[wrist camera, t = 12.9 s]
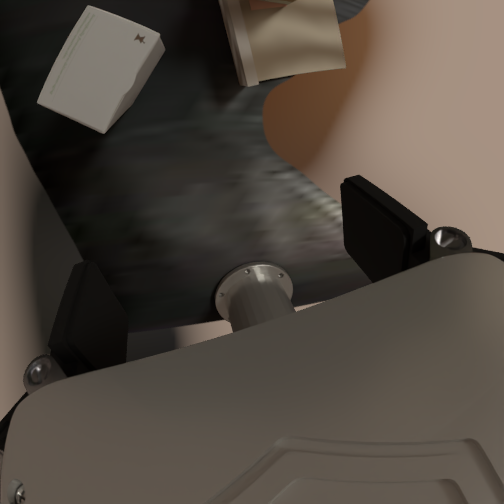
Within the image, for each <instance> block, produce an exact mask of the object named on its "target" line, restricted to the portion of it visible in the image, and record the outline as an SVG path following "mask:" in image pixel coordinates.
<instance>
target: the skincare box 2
mask: <svg viewBox="0 0 504 504" xmlns="http://www.w3.org/2000/svg"><path fill="white" fill-rule="evenodd" d="M260 1H267V2H274V3H280V4H287V5H288V4H290V3H292V2H294V1H296V0H260Z"/></svg>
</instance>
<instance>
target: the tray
mask: <svg viewBox="0 0 504 504" xmlns="http://www.w3.org/2000/svg"><path fill="white" fill-rule="evenodd" d="M218 1H219V5H220V9H221V13H222V17H223V21H224V24H225V28H226V32H227V36H228V40H229V44H230V48H231V52H232V56H233V60H234V65H235V69H236V73H237V77H238V81H239V85H241V86H247V87H249V86H253V85H258V84H259V82H258V81H263V80H268V79H273V78H278V77H284V76H290V75H296V74H302V73H309V72H316V71H324V70H332V69H341V68H346V64H345V58H344V52H343V47H342V41H341V36H340V31H339V26H338V21H337V17H336V12H335V8H334V3H333V0H296V1H294V2H292V3H290V4H288V5H287V4H280V3H274V2H267V1H260V0H218Z"/></svg>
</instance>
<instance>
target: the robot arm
mask: <svg viewBox="0 0 504 504" xmlns="http://www.w3.org/2000/svg"><path fill="white" fill-rule="evenodd" d="M340 190H341V203H342V217H343V234H344V246H345V249H346V251H347V253H348V254H349V255H350V256H351V257H352V258H353V260H354V261H355V262H356V263H357V264H358V266H359V267H360V268H361V269H362V270H363V271H364V273H365V274H366V275H367V276H368V277H369V279H370V280H371V281H372V282H373V284H370V285H367V286H365V287H362V288H360V289H357V290H355V291H352V292H349V293H347V294H344V295H341V296H339V297H336V298H333V299H330V300H328V301H325V302H322V303H320V304H317V305H314V306H311V307H309V308H306V309H303V310H300V311H297V312H296V311H295V309H294V307H293V305H292V303H291V301H290V299H291V297H292V293H293V285H292V282H291V279H290V277H289V275H288V274H287V273H286V271H285V270H284V269H282V268H281V267H280V266H278V265H275V264H273V263H269V262H252V263H248V264H244V265H242V266H239V267H237V268H235V269H234V270H232V271H231V272H229V273H228V274H227V275H226V276H225V277H224V278H223V279H222V280H221V282H220V283H219V285H218V287H217V289H216V293H215V304H216V308H217V310H218V313H219V314H220V315H221V316H222V317H223V318H224V319H225V320H226V321H228V322H230V323H231V326H232V330H233V333H231V334H227V335H224V336H221V337H217V338H214V339H211V340H207V341H204V342H201V343H197V344H194V345H190V346H187V347H183V348H180V349H177V350H173V351H169V352H165V353H162V354H158V355H154V356H151V357H147V358H143V359H140V360H136V361H132V362H128V363H126V353H127V352H126V351H127V336H128V317H127V314H126V312H125V311H124V309H123V308H122V306H121V305H120V303H119V301H118V300H117V298H116V297H115V295H114V293H113V292H112V290H111V288H110V287H109V285H108V283H107V282H106V280H105V278H104V277H103V275H102V273H101V272H100V270H99V268H98V266H97V265H96V263H95V262H92V263H91V262H90V261H89V260H86V261H83V262H81V263H78V264H75V265H74V267H73V269H72V272H71V275H70V278H69V280H68V283H67V286H66V289H65V291H64V294H63V297H62V300H61V303H60V306H59V309H58V312H57V315H56V319H55V322H54V325H53V329H52V332H51V335H50V339H49V343H48V346H49V348H50V349H51V354H50V355H49V354H42V355H40V356H38V357H36V358H35V359H33V360H32V361H31V363H30V364H29V365H28V367H27V369H26V370H25V373H24V378H23V382H24V386H25V388H26V390H27V392H26V393H25V394H24V395H23V396H22V397H21V398H20V400H19V401H18V402H17V403H16V404H15V405H14V406H13V407H12V409H11V410H10V411H9V412H8V414H7V415H6V416H5V417H4V418H3V419H2V420H1V421H0V504H504V254H503V253H499V252H493V251H488V250H483V249H478V248H473V247H472V243H471V240H470V237H469V236H468V235H467V234H466V233H465V232H463V231H461V230H459V229H457V228H454V227H438V228H436V229H435V230H433V231H432V232H430V231H429V230H428V229H427V226H428V224H427V223H426V222H425V221H423V220H422V219H421V218H419V217H418V216H417V215H415V214H414V213H413V212H411V211H410V210H409V209H407V208H406V207H405V206H403V205H402V204H400V203H399V202H398V201H396V200H395V199H394V198H392V197H391V196H389V195H388V194H387V193H385V192H384V191H382V190H381V189H379V188H378V187H377V186H375V185H374V184H372V183H371V182H369V181H368V180H366V179H365V178H363V177H362V176H360V175H356V176H352V177H349V178H345V179H344V183H342V184H341V185H340Z"/></svg>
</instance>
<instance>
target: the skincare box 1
mask: <svg viewBox="0 0 504 504" xmlns="http://www.w3.org/2000/svg"><path fill="white" fill-rule="evenodd" d="M164 51H165V47H164V45H163V43H162V41H161V39H160V34H159V33H157V32H155V31H153V30H151V29H148V28H146V27H144V26H142V25H139V24H137V23H135V22H132V21H130V20H127V19H125V18H122V17H120V16H117V15H115V14H112V13H109V12H107V11H104V10H101V9H98V8H95V7H92V6H87V7H86V9H85V11H84V12H83V14H82V15H81V17H80V19H79V20H78V22H77V23H76V25H75V27H74V28H73V30H72V32H71V33H70V35H69V37H68V39H67V40H66V42H65V44H64V46H63V48H62V50H61V51H60V53H59V55H58V57H57V59H56V61H55V63H54V65H53V67H52V69H51V71H50V73H49V75H48V78H47V80H46V82H45V84H44V87H43V89H42V91H41V94H40V96H39V99H38V101H37V103H38V104H40V105H42V106H44V107H46V108H49V109H51V110H53V111H55V112H57V113H59V114H61V115H64V116H66V117H68V118H70V119H72V120H75V121H77V122H79V123H81V124H83V125H85V126H88V127H90V128H92V129H94V130H96V131H98V132H100V133H103V134H104V133H106V131H107V130H108V129H109V128H110V127H111V126H112V125H113V124H114V123H115V122H116V121H117V120H118V119H119V118H120V116H121V115H122V114H123V113H124V112H125V111H126V110H127V109H128V108H129V107H130V106H131V105H132V104H133V102H134V101H135V99H136V97H137V96H138V94H139V92H140V91H141V89H142V88H143V86H144V84H145V83H146V81H147V79H148V78H149V76H150V74H151V73H152V71H153V69H154V68H155V66H156V65H157V63H158V61H159V60H160V58H161V56H162V55H163V53H164Z"/></svg>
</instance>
